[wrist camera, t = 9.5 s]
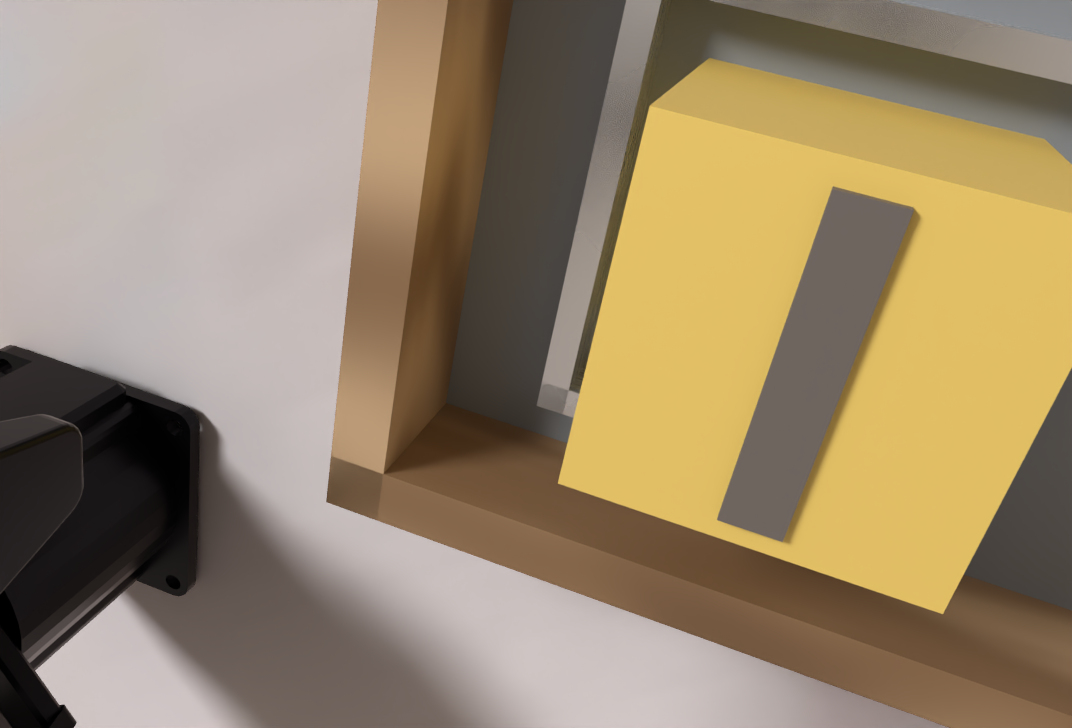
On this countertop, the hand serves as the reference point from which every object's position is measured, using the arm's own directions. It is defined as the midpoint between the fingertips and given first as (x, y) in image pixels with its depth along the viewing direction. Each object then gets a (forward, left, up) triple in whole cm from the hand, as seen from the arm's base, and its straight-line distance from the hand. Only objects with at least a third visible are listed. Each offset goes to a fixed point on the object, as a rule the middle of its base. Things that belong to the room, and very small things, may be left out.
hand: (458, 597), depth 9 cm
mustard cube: (+1, -3, -11) cm, 12 cm away
